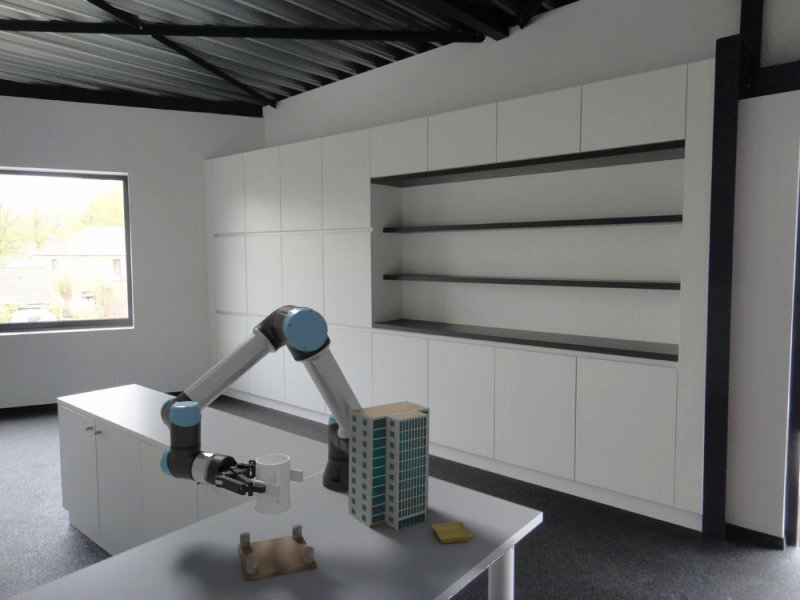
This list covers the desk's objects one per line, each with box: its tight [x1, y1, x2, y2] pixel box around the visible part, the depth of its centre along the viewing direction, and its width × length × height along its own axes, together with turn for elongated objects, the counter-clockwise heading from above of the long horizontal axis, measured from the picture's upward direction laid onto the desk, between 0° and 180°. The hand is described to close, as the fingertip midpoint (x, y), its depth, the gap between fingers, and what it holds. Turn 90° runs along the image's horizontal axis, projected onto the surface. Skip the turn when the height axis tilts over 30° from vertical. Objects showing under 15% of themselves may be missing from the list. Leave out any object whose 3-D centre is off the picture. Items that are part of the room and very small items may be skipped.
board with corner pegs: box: [237, 523, 318, 582], centre depth 138 cm, size 16×16×4 cm
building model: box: [348, 400, 430, 531], centre depth 163 cm, size 20×16×30 cm
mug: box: [254, 453, 292, 516], centre depth 137 cm, size 12×8×12 cm
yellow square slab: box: [431, 521, 473, 544], centre depth 151 cm, size 9×9×2 cm
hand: (290, 483), depth 136 cm, fingers closed on mug, 9 cm apart
